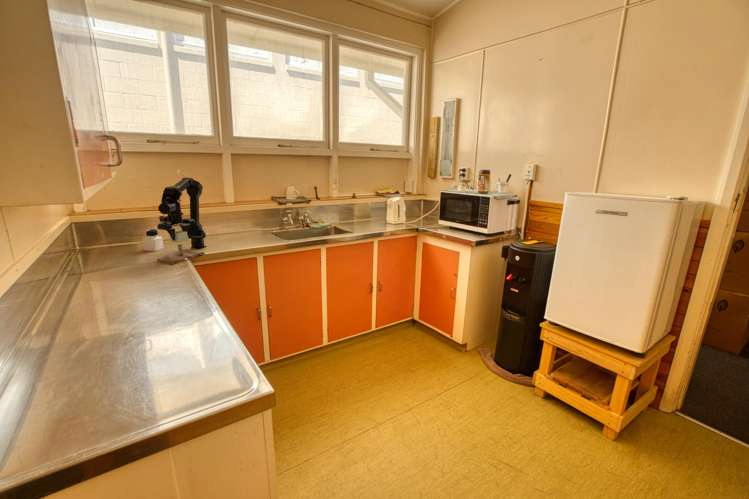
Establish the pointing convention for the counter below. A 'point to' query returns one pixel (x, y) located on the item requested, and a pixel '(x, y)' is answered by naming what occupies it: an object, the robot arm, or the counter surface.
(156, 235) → the medicine bottle
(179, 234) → the square hollow cube
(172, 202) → the robot arm
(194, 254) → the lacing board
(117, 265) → the counter surface
